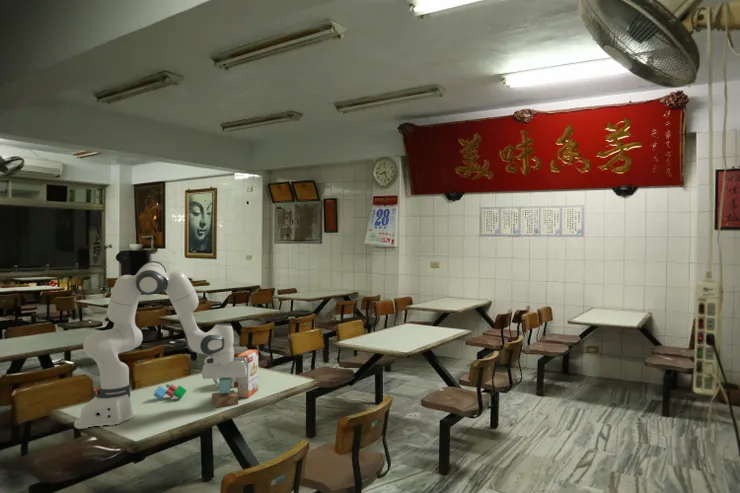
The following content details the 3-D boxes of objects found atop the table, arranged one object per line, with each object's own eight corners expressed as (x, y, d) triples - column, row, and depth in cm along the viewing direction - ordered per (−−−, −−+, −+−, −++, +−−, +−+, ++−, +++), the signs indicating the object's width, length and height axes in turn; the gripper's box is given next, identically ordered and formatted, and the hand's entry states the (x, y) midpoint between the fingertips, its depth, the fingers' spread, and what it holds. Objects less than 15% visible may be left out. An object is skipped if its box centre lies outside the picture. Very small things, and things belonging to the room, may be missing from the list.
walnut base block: (216, 407, 225) (216, 399, 225) (212, 401, 234) (211, 393, 234) (238, 404, 230) (238, 395, 230) (233, 398, 239) (233, 390, 239)
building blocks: (173, 408, 239) (152, 395, 238) (184, 395, 245) (164, 382, 244) (176, 403, 233) (155, 389, 233) (187, 389, 239) (166, 375, 239)
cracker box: (249, 398, 238) (248, 355, 238) (237, 398, 239) (236, 355, 239) (259, 389, 252) (258, 349, 252) (248, 389, 253) (247, 349, 253)
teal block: (219, 393, 229) (219, 380, 229) (219, 390, 233) (219, 377, 233) (230, 392, 230) (230, 379, 230) (230, 389, 235) (230, 376, 235)
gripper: (247, 355, 236) (248, 384, 236) (203, 357, 233) (204, 386, 234) (246, 358, 230) (246, 387, 230) (200, 360, 227) (201, 389, 227)
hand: (224, 386), depth 232 cm, fingers closed on teal block, 5 cm apart
